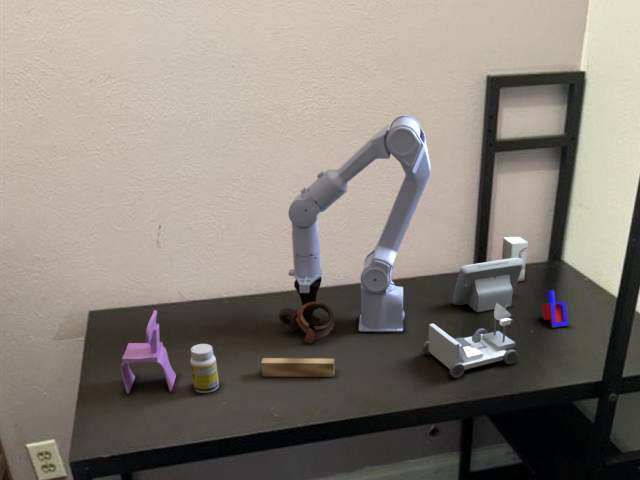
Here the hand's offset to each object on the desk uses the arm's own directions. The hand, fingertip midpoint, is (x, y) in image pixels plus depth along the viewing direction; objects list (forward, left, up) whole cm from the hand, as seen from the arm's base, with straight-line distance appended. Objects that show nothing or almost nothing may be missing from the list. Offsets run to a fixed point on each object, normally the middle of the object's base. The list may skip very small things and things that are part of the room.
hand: (309, 310), depth 172 cm
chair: (+28, +28, -3) cm, 40 cm away
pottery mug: (0, +6, -3) cm, 7 cm away
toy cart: (-35, +16, -3) cm, 39 cm away
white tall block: (-48, -26, -3) cm, 55 cm away
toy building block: (-54, -1, -3) cm, 54 cm away
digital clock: (-40, -11, -3) cm, 42 cm away
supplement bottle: (+17, +29, -3) cm, 34 cm away
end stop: (0, +23, -3) cm, 24 cm away
